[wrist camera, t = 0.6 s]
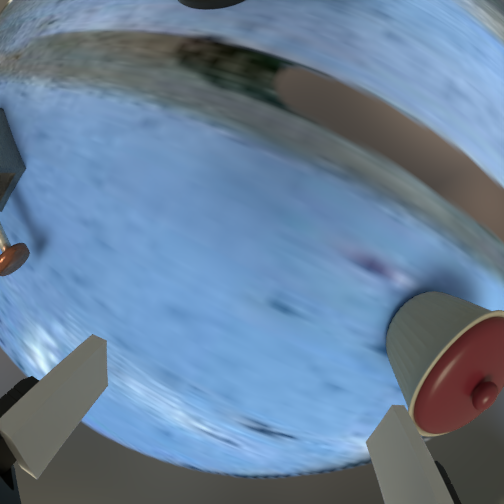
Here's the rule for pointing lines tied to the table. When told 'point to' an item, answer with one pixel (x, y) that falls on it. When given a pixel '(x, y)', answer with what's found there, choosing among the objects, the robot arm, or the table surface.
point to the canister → (446, 360)
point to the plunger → (11, 254)
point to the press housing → (8, 161)
